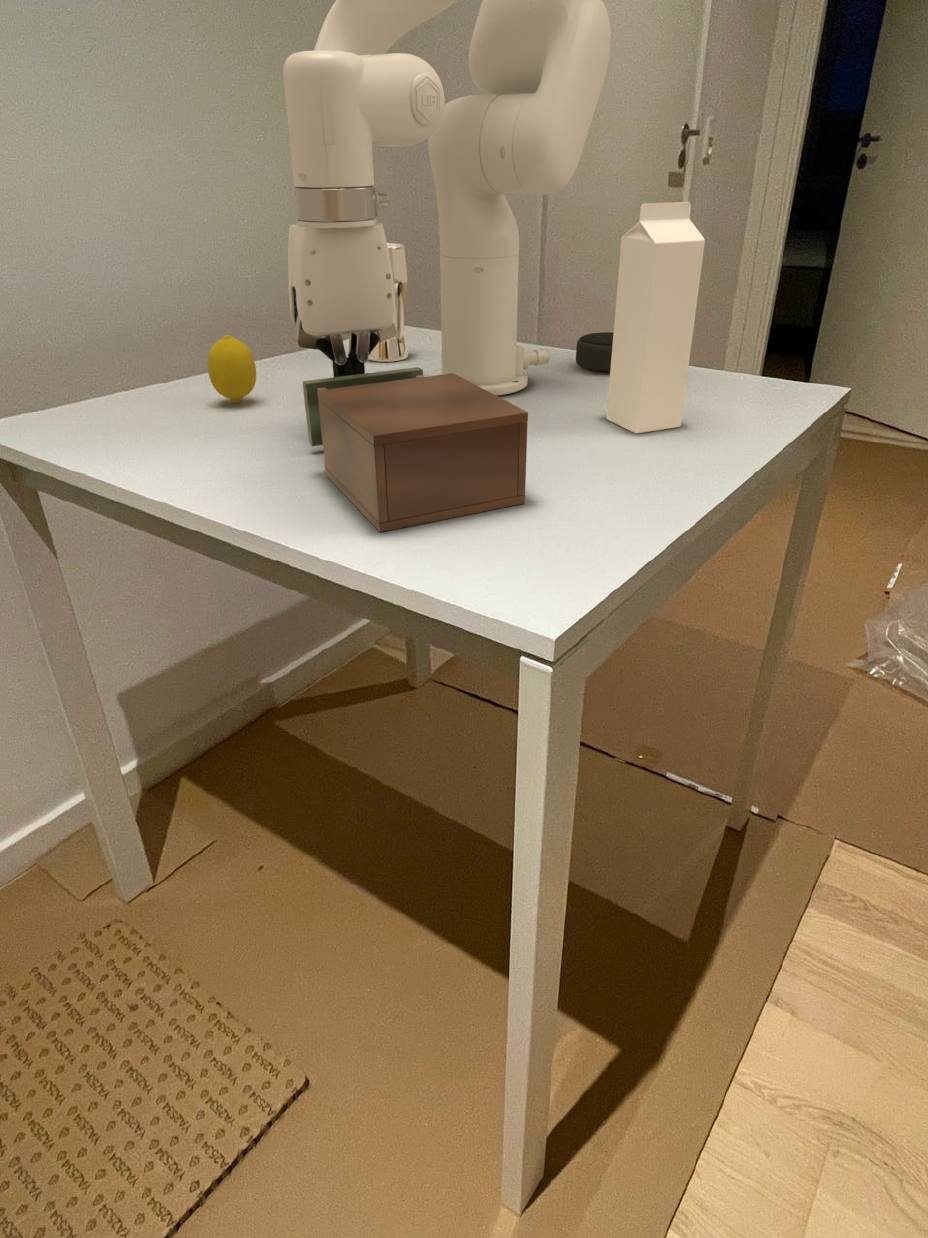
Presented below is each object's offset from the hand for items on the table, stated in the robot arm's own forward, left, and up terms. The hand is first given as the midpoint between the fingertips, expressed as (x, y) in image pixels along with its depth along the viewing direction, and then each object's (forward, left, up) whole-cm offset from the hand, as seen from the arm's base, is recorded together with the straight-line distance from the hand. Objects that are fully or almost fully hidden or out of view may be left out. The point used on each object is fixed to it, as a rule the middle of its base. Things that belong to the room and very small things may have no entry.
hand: (351, 398), depth 87 cm
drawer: (0, +7, -3) cm, 8 cm away
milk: (-30, +12, -4) cm, 32 cm away
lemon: (+9, -17, -4) cm, 20 cm away
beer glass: (-16, -31, -4) cm, 35 cm away
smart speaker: (-41, -11, -4) cm, 43 cm away
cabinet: (0, +19, -4) cm, 19 cm away
